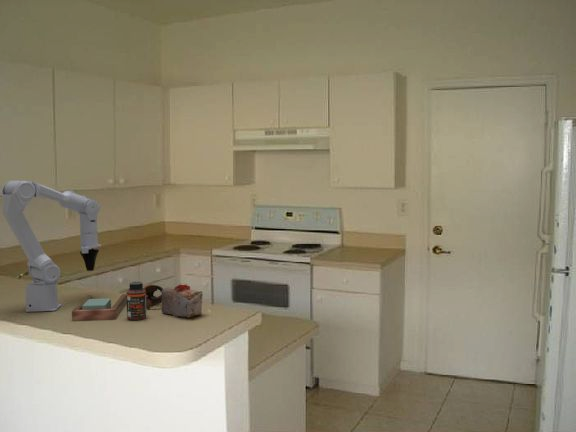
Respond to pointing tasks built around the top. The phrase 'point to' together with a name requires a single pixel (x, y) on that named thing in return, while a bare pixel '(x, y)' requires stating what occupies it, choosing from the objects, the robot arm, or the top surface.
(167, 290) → the food item
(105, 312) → the guide channel
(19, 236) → the robot arm
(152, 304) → the pottery mug
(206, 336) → the top surface
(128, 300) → the supplement bottle
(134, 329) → the top surface
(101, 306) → the block
